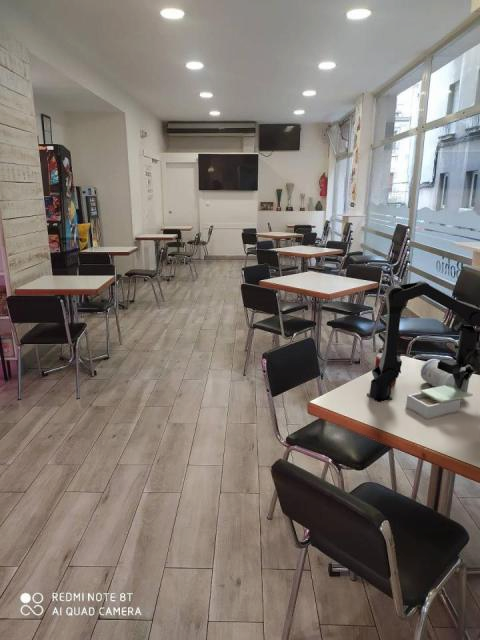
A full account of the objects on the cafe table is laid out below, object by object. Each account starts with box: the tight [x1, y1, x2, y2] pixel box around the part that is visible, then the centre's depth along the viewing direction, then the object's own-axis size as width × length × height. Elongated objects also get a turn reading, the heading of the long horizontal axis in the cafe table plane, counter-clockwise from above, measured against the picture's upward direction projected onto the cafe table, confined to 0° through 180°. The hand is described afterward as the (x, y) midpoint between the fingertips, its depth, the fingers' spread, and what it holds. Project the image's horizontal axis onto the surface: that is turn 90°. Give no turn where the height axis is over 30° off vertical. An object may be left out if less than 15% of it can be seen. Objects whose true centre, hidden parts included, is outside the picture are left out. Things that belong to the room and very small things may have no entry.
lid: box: [420, 379, 474, 403], centre depth 146 cm, size 14×9×5 cm, turn 113°
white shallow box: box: [405, 391, 462, 420], centre depth 145 cm, size 14×9×4 cm, turn 113°
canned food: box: [374, 352, 397, 388], centre depth 165 cm, size 8×8×11 cm
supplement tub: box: [420, 358, 455, 388], centre depth 161 cm, size 10×10×15 cm
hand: (460, 387), depth 149 cm, fingers closed on lid
